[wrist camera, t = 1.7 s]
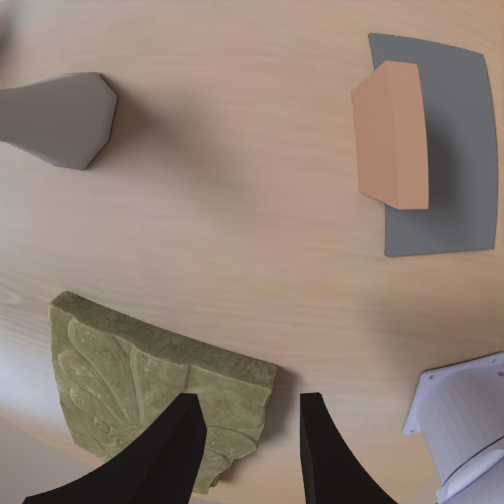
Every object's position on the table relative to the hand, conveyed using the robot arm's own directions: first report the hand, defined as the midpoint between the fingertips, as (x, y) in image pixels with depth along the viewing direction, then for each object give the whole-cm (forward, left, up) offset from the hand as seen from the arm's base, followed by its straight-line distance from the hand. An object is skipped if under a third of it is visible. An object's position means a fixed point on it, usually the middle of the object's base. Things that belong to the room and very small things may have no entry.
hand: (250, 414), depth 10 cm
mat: (-12, -9, -10) cm, 18 cm away
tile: (-7, -9, -10) cm, 15 cm away
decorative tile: (+11, +12, -11) cm, 20 cm away
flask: (+12, -13, -11) cm, 21 cm away
